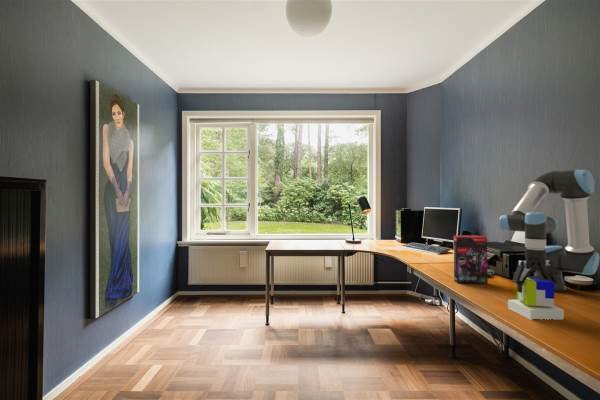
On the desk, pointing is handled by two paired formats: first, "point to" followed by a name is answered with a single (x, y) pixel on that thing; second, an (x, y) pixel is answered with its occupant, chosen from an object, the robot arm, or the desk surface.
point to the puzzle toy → (538, 292)
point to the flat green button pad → (490, 272)
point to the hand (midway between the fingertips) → (534, 299)
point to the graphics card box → (470, 259)
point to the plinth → (536, 311)
